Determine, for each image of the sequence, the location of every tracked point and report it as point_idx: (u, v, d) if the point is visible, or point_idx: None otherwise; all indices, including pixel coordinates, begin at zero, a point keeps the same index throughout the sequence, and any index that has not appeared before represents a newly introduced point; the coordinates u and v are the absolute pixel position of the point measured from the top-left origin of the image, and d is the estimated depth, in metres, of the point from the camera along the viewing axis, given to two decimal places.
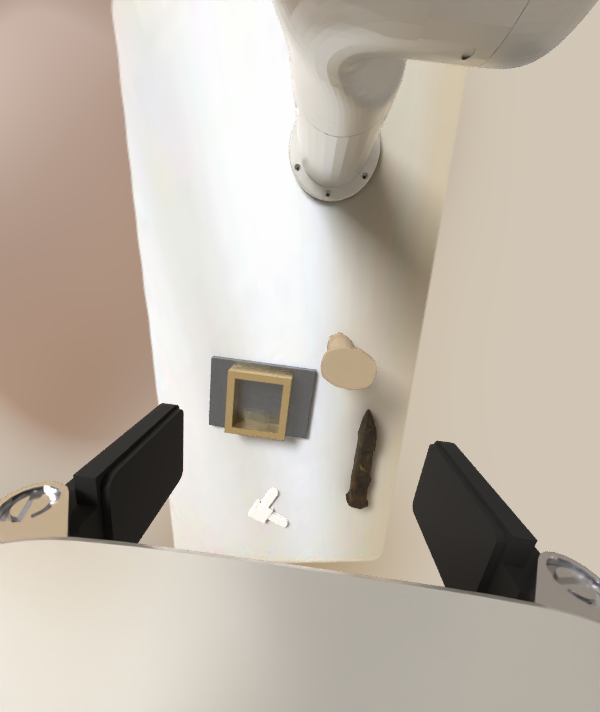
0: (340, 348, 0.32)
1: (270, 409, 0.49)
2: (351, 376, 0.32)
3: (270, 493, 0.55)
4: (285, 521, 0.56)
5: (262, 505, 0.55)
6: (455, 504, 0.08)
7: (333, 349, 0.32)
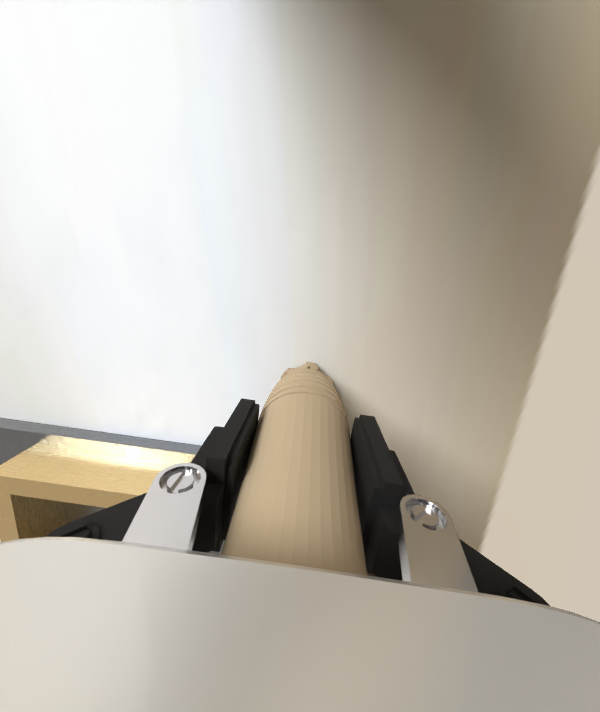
0: None
1: None
2: None
3: None
4: None
5: None
6: (360, 465, 0.09)
7: None
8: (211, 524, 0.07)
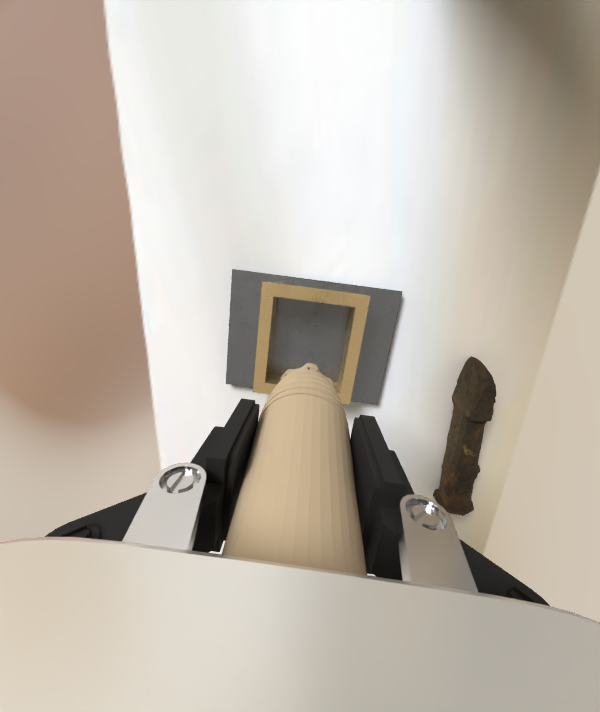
0: None
1: (324, 357, 0.31)
2: None
3: None
4: None
5: None
6: (360, 464, 0.09)
7: None
8: (211, 524, 0.07)
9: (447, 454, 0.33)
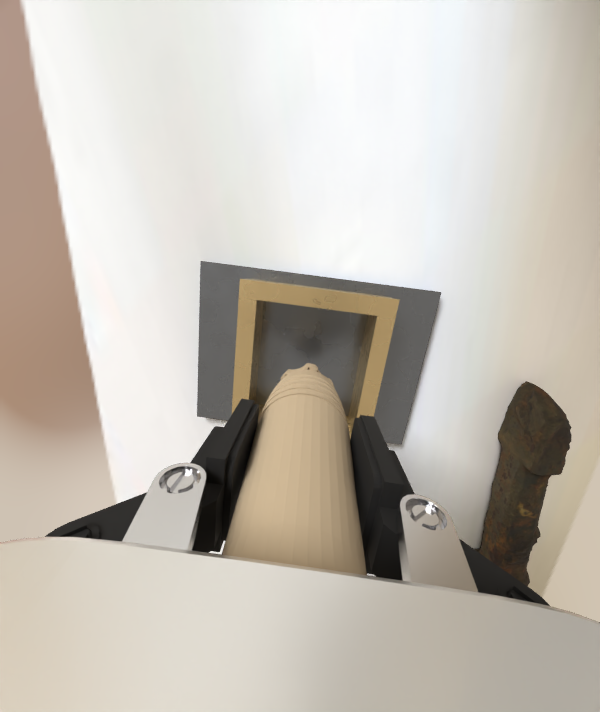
0: None
1: None
2: None
3: None
4: None
5: None
6: (360, 464, 0.09)
7: None
8: (211, 524, 0.07)
9: (493, 510, 0.25)
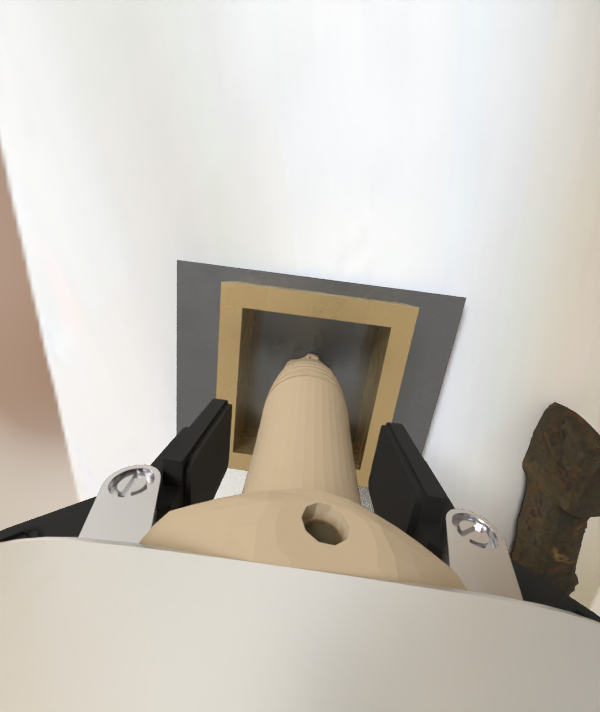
0: (219, 540, 0.04)
1: None
2: None
3: None
4: None
5: None
6: (393, 475, 0.09)
7: (169, 545, 0.04)
8: None
9: (519, 550, 0.21)
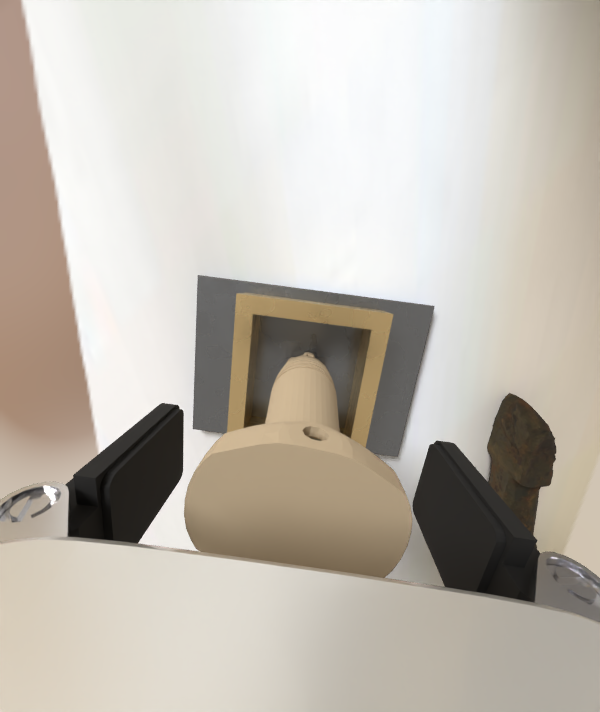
0: (259, 437, 0.08)
1: None
2: (308, 546, 0.08)
3: None
4: None
5: None
6: (455, 504, 0.08)
7: (232, 442, 0.08)
8: None
9: None
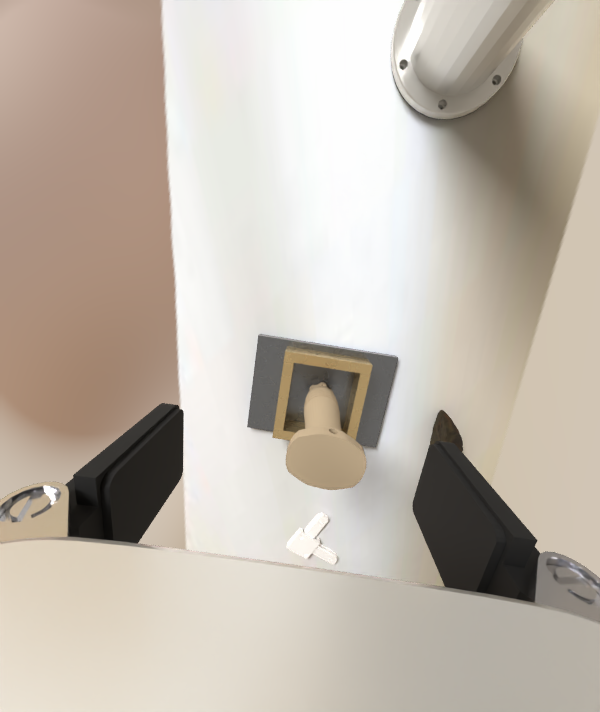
0: (314, 432, 0.22)
1: None
2: (329, 471, 0.22)
3: (318, 519, 0.42)
4: (334, 556, 0.43)
5: (306, 535, 0.42)
6: (455, 504, 0.08)
7: (304, 433, 0.22)
8: None
9: None
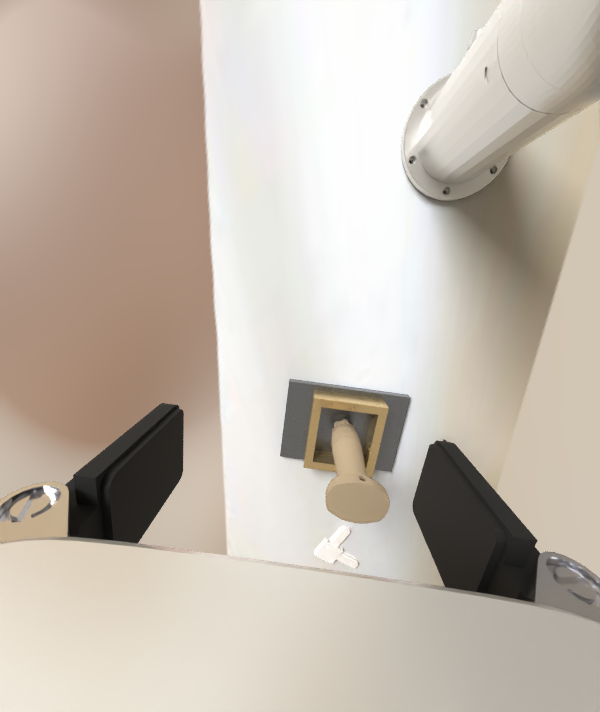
0: (348, 480, 0.28)
1: None
2: (360, 510, 0.28)
3: (341, 531, 0.48)
4: (355, 561, 0.50)
5: (331, 544, 0.49)
6: (455, 504, 0.08)
7: (340, 481, 0.28)
8: None
9: None
